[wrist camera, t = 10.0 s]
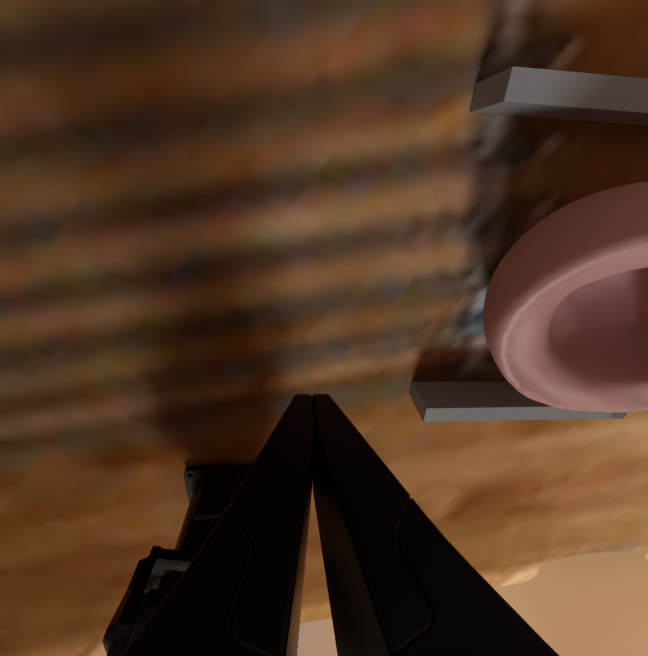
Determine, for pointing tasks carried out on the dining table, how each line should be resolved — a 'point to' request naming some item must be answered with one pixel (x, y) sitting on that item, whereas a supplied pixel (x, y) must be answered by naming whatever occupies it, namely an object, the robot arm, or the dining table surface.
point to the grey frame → (543, 102)
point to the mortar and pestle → (577, 305)
